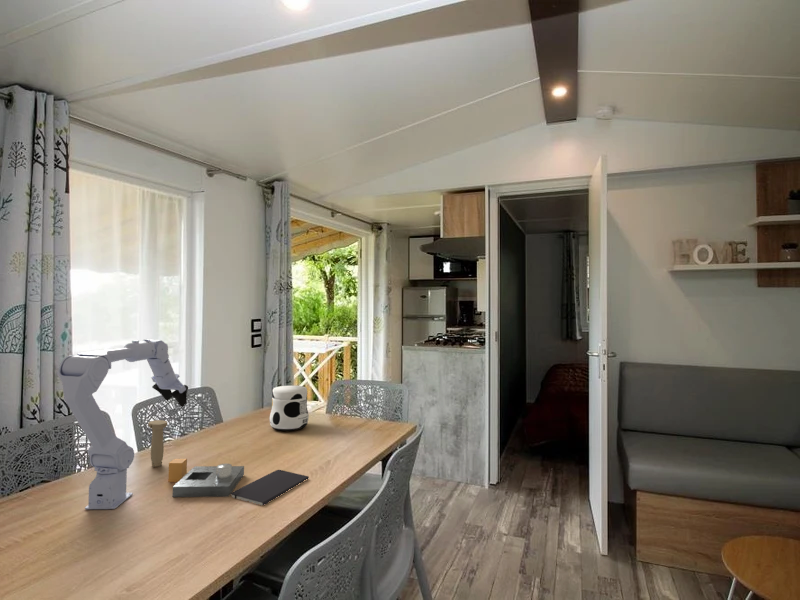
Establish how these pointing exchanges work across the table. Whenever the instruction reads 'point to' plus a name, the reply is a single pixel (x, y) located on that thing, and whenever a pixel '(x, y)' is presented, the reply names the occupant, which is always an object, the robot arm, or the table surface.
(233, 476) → the hub plate
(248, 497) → the notebook
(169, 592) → the table surface
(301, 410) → the milk container
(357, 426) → the table surface
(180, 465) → the orange rectangular block
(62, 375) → the robot arm
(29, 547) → the table surface
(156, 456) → the handle
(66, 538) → the table surface
